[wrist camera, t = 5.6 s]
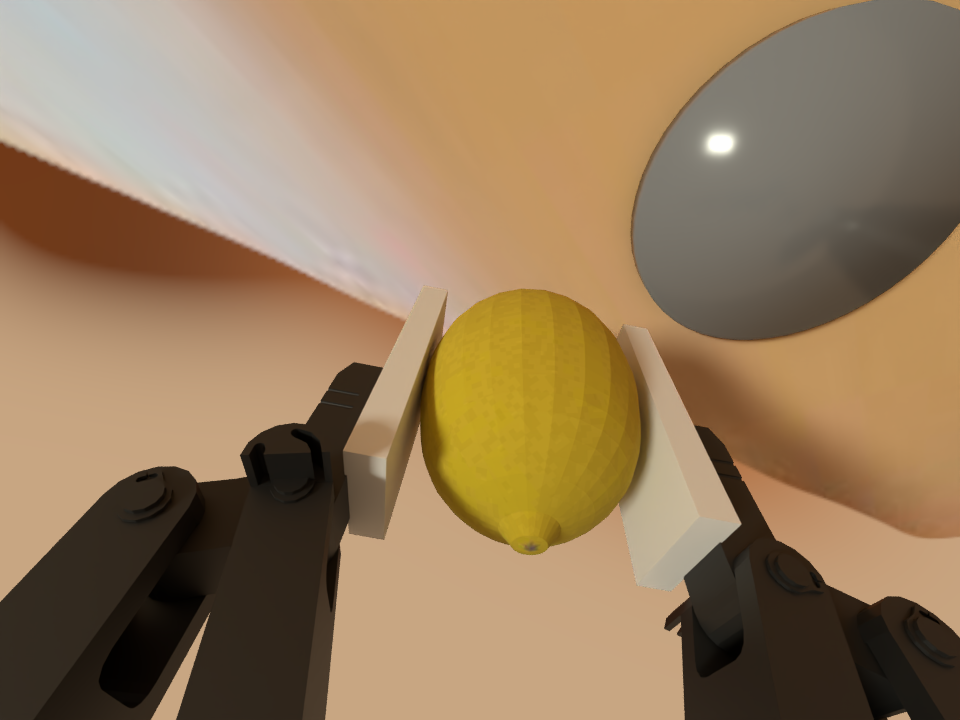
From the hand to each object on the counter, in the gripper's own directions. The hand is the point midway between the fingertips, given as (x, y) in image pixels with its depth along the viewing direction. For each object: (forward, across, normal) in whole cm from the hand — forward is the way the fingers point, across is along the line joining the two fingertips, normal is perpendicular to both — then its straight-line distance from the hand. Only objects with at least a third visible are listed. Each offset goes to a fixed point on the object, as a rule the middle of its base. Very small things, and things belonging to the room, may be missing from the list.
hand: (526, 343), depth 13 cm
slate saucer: (+10, -12, -4) cm, 16 cm away
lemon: (+1, 0, 0) cm, 1 cm away
